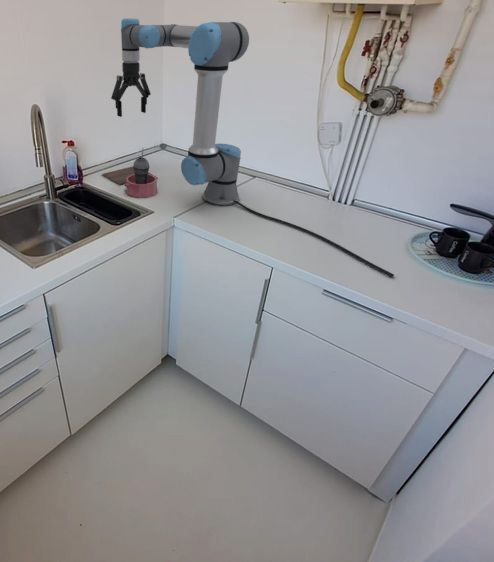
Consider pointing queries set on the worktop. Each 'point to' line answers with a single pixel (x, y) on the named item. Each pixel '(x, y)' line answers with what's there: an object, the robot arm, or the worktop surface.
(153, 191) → the pot
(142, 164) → the beverage cup
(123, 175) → the board
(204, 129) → the robot arm
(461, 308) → the worktop surface
